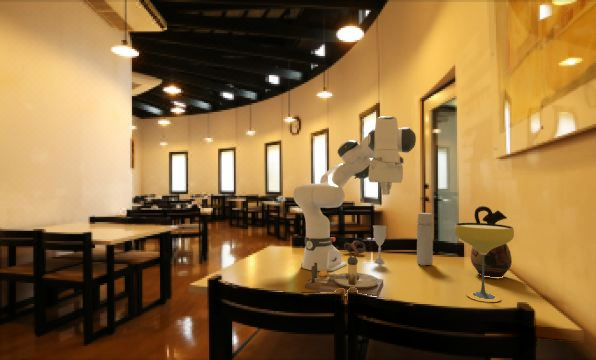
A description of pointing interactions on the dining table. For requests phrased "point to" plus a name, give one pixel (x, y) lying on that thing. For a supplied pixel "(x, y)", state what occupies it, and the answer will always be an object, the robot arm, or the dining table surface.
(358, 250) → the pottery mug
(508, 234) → the cocktail glass
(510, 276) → the dining table surface
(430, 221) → the water bottle
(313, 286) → the stand
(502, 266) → the ceramic jug
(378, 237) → the chalice
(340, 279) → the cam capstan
